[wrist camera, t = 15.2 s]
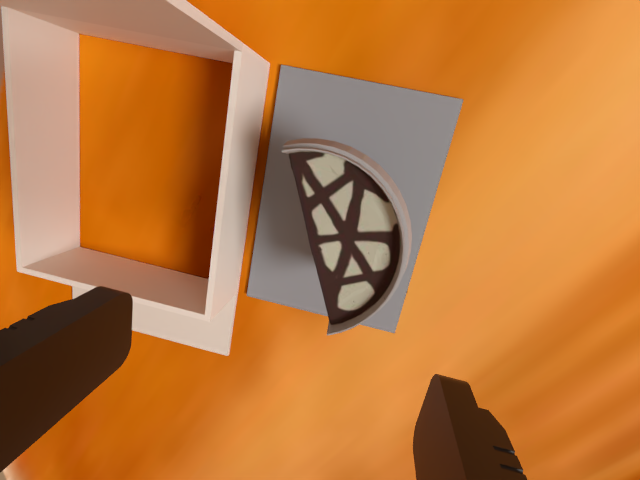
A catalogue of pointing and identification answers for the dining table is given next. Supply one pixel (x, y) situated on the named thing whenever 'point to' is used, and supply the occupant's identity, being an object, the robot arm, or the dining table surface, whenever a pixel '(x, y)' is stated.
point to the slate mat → (365, 136)
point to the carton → (64, 158)
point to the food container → (351, 228)
